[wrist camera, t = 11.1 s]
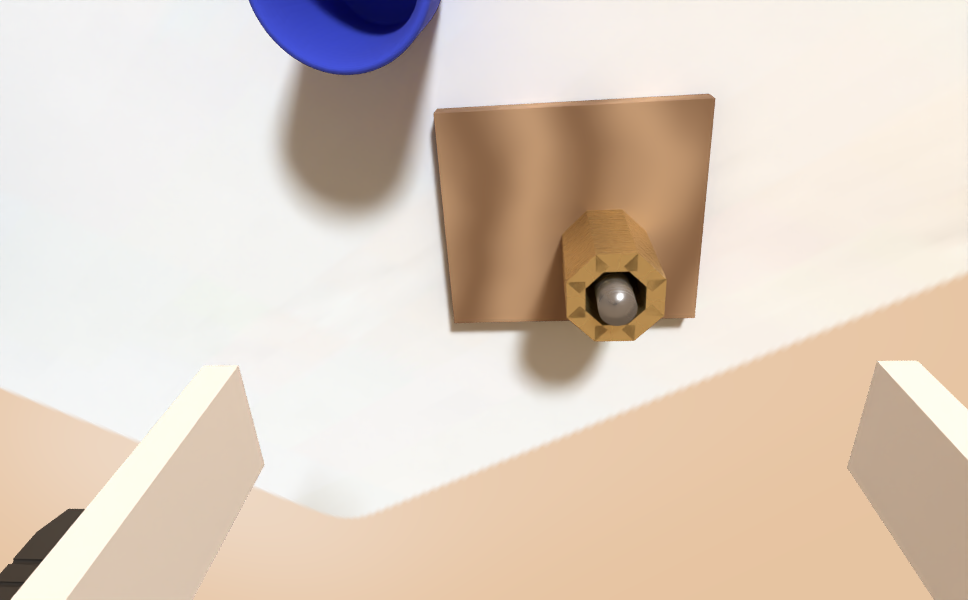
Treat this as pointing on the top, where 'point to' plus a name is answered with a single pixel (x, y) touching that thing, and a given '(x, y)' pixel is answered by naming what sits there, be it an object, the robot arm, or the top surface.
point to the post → (615, 298)
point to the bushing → (610, 248)
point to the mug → (344, 30)
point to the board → (567, 195)
